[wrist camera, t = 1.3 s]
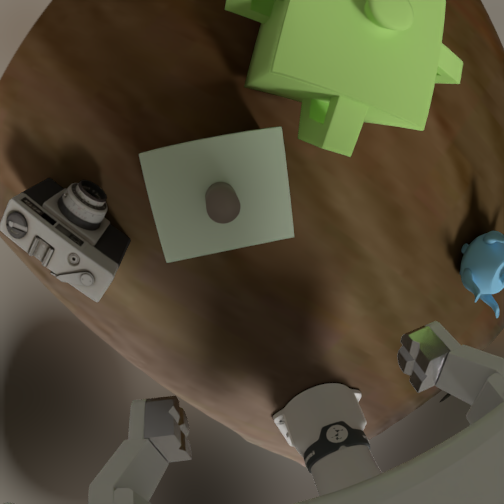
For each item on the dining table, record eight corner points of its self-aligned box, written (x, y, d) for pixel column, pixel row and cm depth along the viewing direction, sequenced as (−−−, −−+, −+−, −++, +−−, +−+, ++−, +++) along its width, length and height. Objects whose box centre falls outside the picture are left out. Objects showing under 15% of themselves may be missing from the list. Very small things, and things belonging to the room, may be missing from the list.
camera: (149, 216, 36) (135, 251, 27) (115, 264, 38) (95, 308, 29) (63, 150, 31) (23, 165, 22) (33, 203, 33) (-6, 232, 24)
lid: (291, 233, 32) (305, 251, 28) (167, 258, 31) (163, 280, 27) (278, 126, 28) (292, 128, 24) (140, 152, 26) (130, 159, 22)
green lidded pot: (246, -58, 23) (279, -138, 8) (404, 3, 28) (492, -21, 13) (194, 117, 32) (190, 119, 17) (369, 161, 38) (460, 199, 22)
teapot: (467, 293, 53) (497, 320, 44) (437, 271, 48) (473, 301, 39) (498, 241, 49) (532, 262, 40) (474, 210, 44) (514, 232, 35)
